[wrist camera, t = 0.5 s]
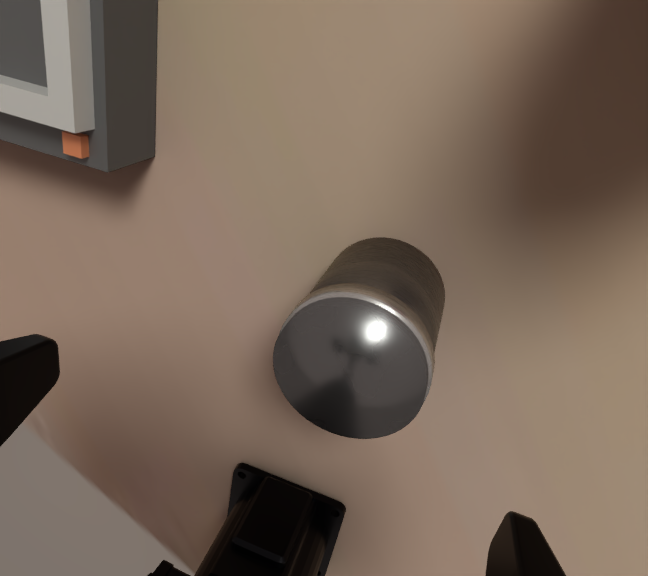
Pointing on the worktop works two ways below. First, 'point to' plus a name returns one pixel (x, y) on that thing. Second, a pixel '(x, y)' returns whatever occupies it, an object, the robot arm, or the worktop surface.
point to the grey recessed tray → (80, 79)
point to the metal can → (363, 340)
